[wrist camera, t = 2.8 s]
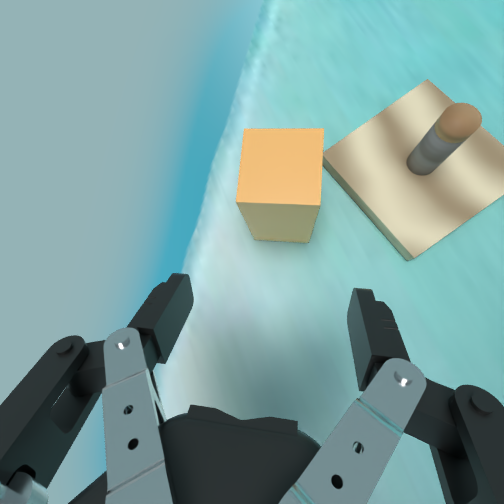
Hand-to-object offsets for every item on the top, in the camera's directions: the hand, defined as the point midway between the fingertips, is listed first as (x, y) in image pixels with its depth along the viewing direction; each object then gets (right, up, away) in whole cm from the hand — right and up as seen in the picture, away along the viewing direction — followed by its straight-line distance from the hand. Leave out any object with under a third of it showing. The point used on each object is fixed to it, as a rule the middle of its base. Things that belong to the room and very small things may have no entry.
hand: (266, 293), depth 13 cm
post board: (+15, +10, +13) cm, 23 cm away
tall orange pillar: (+2, +6, +14) cm, 15 cm away
